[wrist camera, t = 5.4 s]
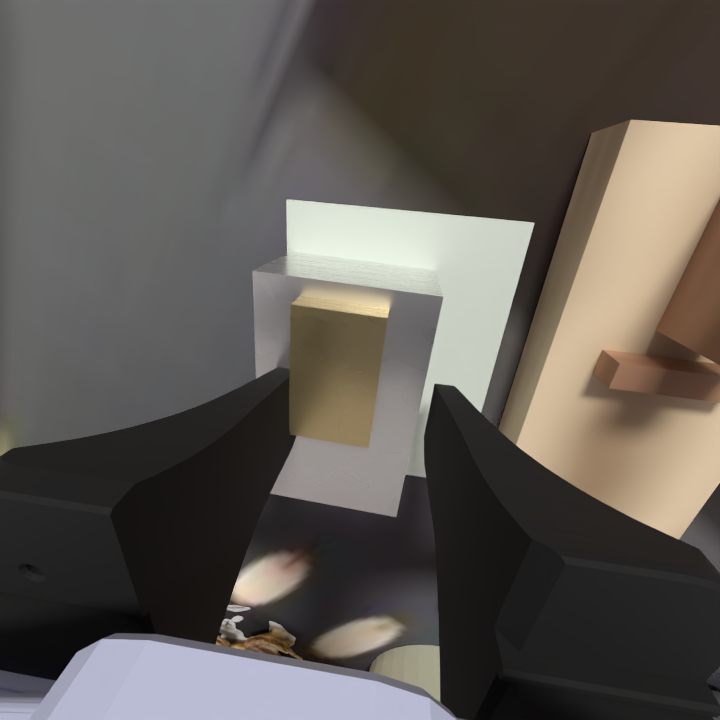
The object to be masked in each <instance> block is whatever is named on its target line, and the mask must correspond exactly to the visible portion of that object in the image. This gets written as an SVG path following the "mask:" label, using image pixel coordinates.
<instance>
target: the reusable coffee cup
mask: <svg viewBox="0 0 720 720" xmlns="http://www.w3.org/2000/svg"><path fill="white" fill-rule="evenodd" d="M369 672H372V673H377V674H380V675H383V676H386V677H389V678H392V679H396V680H399V681H402V682H405V683H408V684H411V685H414V686H417V687H420V688H423V689H424V690H425V691H426V692H428V693H429V694H430V695H431V696H433V697H434V698H435V699H436V700H438V701H439V702H440V651H439V646H434V645H408V646H402V647H397V648H393V649H391V650H388V651H385V652H384V653H382V654H380V655H379V656H377V657H376V659H375V660H374V661H373V662H372V664H371V667H370V670H369Z"/></svg>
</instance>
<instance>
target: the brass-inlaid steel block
mask: <svg viewBox="0 0 720 720" xmlns="http://www.w3.org/2000/svg"><path fill="white" fill-rule="evenodd" d="M253 299H254V330H255V361H256V379H257V378H258V377H260V376H262V375H264V374H266V373H268V372H269V371H271V370H273V369H275V368H277V367H281V368H288V369H290V377H289V435H295V436H296V439H295V442H294V445H293V447H292V449H291V452H290V454H289V456H288V458H287V460H286V462H285V464H284V466H283V468H282V470H281V472H280V474H279V476H278V478H277V480H276V482H275V484H274V486H273V488H272V490H271V492H270V494H275V495H281V496H286V497H291V498H296V499H302V500H307V501H312V502H318V503H323V504H328V505H334V506H339V507H344V508H350V509H355V510H360V511H366V512H371V513H376V514H382V515H387V516H392V517H396V516H397V511H398V506H399V502H400V497H401V492H402V488H403V483H404V478H405V474H406V469H407V465H408V460H409V455H410V451H411V446H412V441H413V437H414V432H415V427H416V423H417V418H418V413H419V409H420V404H421V399H422V395H423V390H424V385H425V381H426V376H427V371H428V367H429V362H430V357H431V353H432V348H433V343H434V339H435V334H436V329H437V325H438V320H439V315H440V311H441V306H442V301H443V294H442V290H441V287H440V284H439V281H438V277H437V274H436V271H435V270H431V269H423V268H415V267H408V266H400V265H392V264H385V263H377V262H369V261H362V260H354V259H347V258H339V257H331V256H324V255H316V254H308V253H301V252H291V253H289V254H287V255H285V256H283V257H281V258H278V259H276V260H274V261H272V262H270V263H268V264H266V265H264V266H261V267H259V268H257V269H255V270H253Z"/></svg>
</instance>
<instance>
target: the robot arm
mask: <svg viewBox="0 0 720 720" xmlns="http://www.w3.org/2000/svg"><path fill="white" fill-rule="evenodd" d="M289 377H290V369H288V368H281V367H277V368H275V369H273V370H271V371H269V372H268V373H266V374H264V375H262V376H260V377H258V378H257V379H255V380H253V381H251V382H249V383H247V384H245V385H243V386H241V387H240V388H237V389H235V390H233V391H231V392H229V393H227V394H225V395H223V396H221V397H218V398H216V399H214V400H212V401H210V402H207V403H205V404H202V405H200V406H197V407H195V408H192V409H189V410H187V411H184V412H181V413H178V414H175V415H172V416H169V417H165V418H162V419H159V420H155V421H152V422H148V423H145V424H141V425H138V426H134V427H130V428H126V429H122V430H117V431H113V432H109V433H104V434H99V435H94V436H89V437H84V438H78V439H73V440H66V441H60V442H53V443H47V444H40V445H33V446H27V447H19V448H13V449H11V450H9V451H8V452H6V453H5V454H3V455H2V456H0V720H714V719H713V717H715V718H718V717H719V716H720V704H719V702H718V701H717V699H716V698H715V696H714V694H713V693H712V691H711V690H710V688H709V686H708V685H707V683H706V682H705V680H706V679H708V678H709V677H710V676H711V675H712V674H713V673H714V672H715V671H716V670H717V669H718V668H719V667H720V573H719V572H718V571H717V569H716V568H715V567H714V566H713V565H712V564H711V562H710V561H709V560H708V559H707V558H706V556H705V555H704V554H703V553H702V552H701V551H700V550H699V549H698V548H696V547H693V546H691V545H689V544H687V543H685V542H683V541H681V540H678V539H676V538H674V537H672V536H670V535H668V534H665V533H663V532H661V531H659V530H657V529H655V528H653V527H650V526H648V525H646V524H644V523H642V522H640V521H637V520H635V519H634V518H632V517H630V516H628V515H626V514H624V513H622V512H620V511H618V510H616V509H614V508H613V507H611V506H609V505H607V504H605V503H603V502H601V501H599V500H598V499H596V498H594V497H592V496H591V495H589V494H587V493H585V492H584V491H582V490H580V489H579V488H577V487H575V486H574V485H572V484H571V483H569V482H567V481H566V480H564V479H563V478H561V477H560V476H558V475H556V474H555V473H553V472H552V471H550V470H549V469H547V468H546V467H544V466H543V465H542V464H540V463H539V462H538V461H536V460H535V459H533V458H532V457H531V456H529V455H528V454H527V453H525V452H524V451H523V450H521V449H520V448H519V447H518V446H516V445H515V444H514V443H513V442H512V441H510V440H509V439H508V438H507V437H506V436H505V435H504V434H502V433H501V432H500V431H499V430H498V429H497V428H496V427H495V426H494V425H493V424H492V423H490V422H489V421H488V420H487V419H486V418H485V417H484V416H483V415H482V414H481V413H480V412H479V411H478V410H477V409H476V408H475V407H474V405H473V404H472V403H471V402H470V401H469V400H468V399H467V398H466V397H465V396H464V395H463V394H462V393H461V392H460V391H459V390H458V389H457V388H456V387H455V386H451V385H443V384H434V389H433V394H432V399H431V404H430V409H429V414H428V419H427V423H426V428H425V433H424V466H425V473H426V480H427V486H428V493H429V500H430V506H431V513H432V519H433V526H434V534H435V543H436V562H437V583H438V611H439V651H440V702H439V701H438V700H436V699H435V698H434V697H433V696H431V695H430V694H429V693H428V692H426V691H425V690H424V689H423V688H420V687H417V686H414V685H411V684H408V683H405V682H402V681H399V680H396V679H392V678H389V677H386V676H383V675H380V674H377V673H372V672H366V671H361V670H355V669H349V668H344V667H338V666H333V665H327V664H321V663H316V662H310V661H305V660H299V659H293V658H288V657H282V656H277V655H271V654H265V653H260V652H254V651H249V650H243V649H237V648H232V647H226V646H221V645H215V644H216V641H217V637H218V634H219V631H220V628H221V625H222V622H223V619H224V616H225V613H226V610H227V607H228V604H229V601H230V598H231V595H232V592H233V588H234V585H235V583H236V580H237V577H238V574H239V571H240V568H241V565H242V563H243V560H244V557H245V554H246V551H247V548H248V546H249V543H250V540H251V537H252V535H253V532H254V529H255V527H256V524H257V521H258V519H259V516H260V514H261V512H262V509H263V507H264V505H265V503H266V501H267V499H268V496H269V494H270V492H271V490H272V488H273V486H274V484H275V482H276V480H277V478H278V476H279V474H280V472H281V470H282V468H283V466H284V464H285V462H286V460H287V458H288V456H289V454H290V452H291V449H292V447H293V445H294V442H295V439H296V436H295V435H289Z"/></svg>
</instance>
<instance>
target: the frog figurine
mask: <svg viewBox="0 0 720 720" xmlns="http://www.w3.org/2000/svg"><path fill="white" fill-rule="evenodd" d="M227 609H228V610H231V611H235V612H239V611H245V610H249V609H250V608H249V607H244V606H238V605H228V607H227ZM241 620H243V618H242V617H241V616H236V617H233V618H232V620H228V619H224V621H223V622H222V625H221V628H220V631H219V632H220V633H222V636H221V637H220V636H218V637H217V641H216V644H215V645H221V646H226V647H232V648H237V649H243V650H249V651H254V652H260V653H265V654H271V655H277V656H281V655H280V654H279V653H278V650H279V651H281V652H283V653H286V654H288V653H289V654H290V655H292V656H294V657H295V658H297V659H300V660H302V659H303V658H301V657H300V656H298V655H296V654H295V653H294V652H293V651H292V649H291V648H290V646H292V645H294V642H295V640H296V638H295V637H294V636H292V635H291V634H289V633H288V632H287V631H286V630H285V629H284V628H283V627H282V626H281V625H280V624H277V623H275V622H272V621H269V624H270V626H269V632H268V633H264V634H260V635H257V636H252V637H249V638H245V637H244V636H243V633H242V632H241V631H240V630H237V629H236V628H235V623H234V622H239V621H241ZM232 621H233V622H232ZM282 657H283V656H282Z"/></svg>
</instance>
